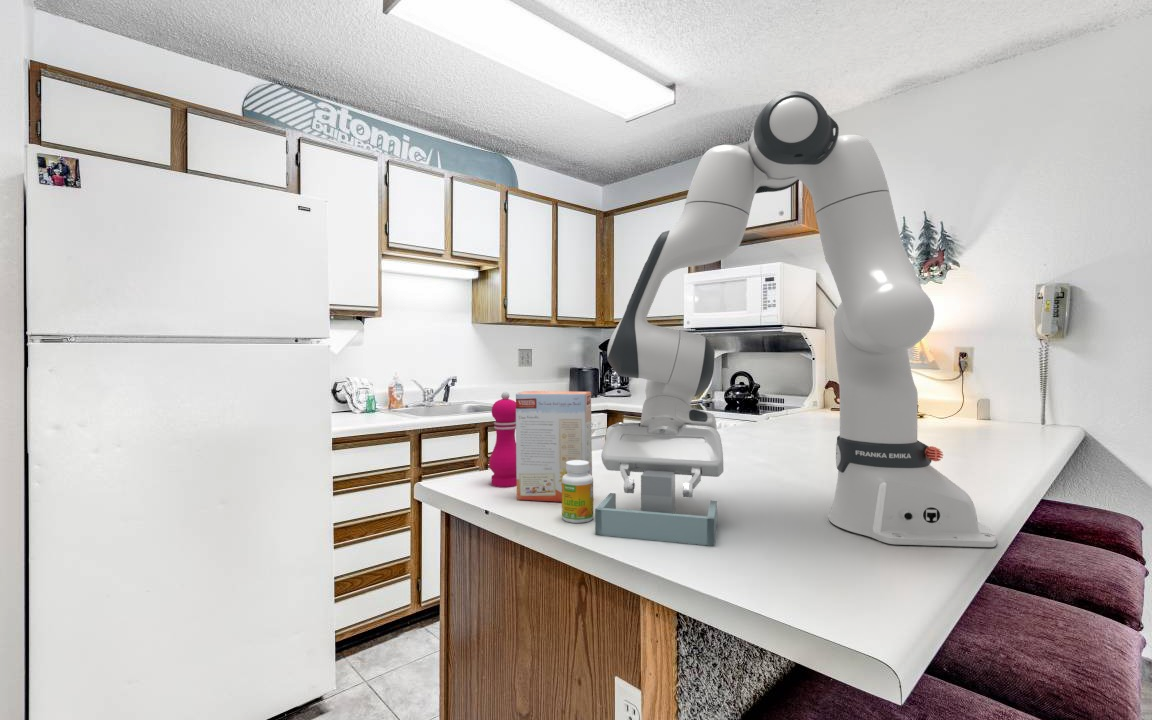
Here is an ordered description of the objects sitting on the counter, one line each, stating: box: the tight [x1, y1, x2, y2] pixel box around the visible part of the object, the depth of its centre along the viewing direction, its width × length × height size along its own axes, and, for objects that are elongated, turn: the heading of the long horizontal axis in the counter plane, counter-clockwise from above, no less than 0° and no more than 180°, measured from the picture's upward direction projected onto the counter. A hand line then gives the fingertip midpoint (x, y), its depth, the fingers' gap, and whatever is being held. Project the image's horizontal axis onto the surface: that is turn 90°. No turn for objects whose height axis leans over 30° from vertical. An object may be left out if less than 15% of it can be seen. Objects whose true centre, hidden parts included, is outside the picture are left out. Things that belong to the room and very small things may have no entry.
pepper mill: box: [488, 391, 517, 488], centre depth 117 cm, size 7×7×20 cm
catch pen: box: [594, 492, 718, 547], centre depth 86 cm, size 18×10×4 cm, turn 73°
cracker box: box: [515, 390, 593, 503], centre depth 105 cm, size 14×6×21 cm, turn 77°
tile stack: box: [640, 469, 676, 514], centre depth 87 cm, size 5×5×9 cm
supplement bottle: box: [561, 460, 594, 524], centre depth 92 cm, size 5×5×10 cm
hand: (657, 493), depth 86 cm, fingers open, 8 cm apart
